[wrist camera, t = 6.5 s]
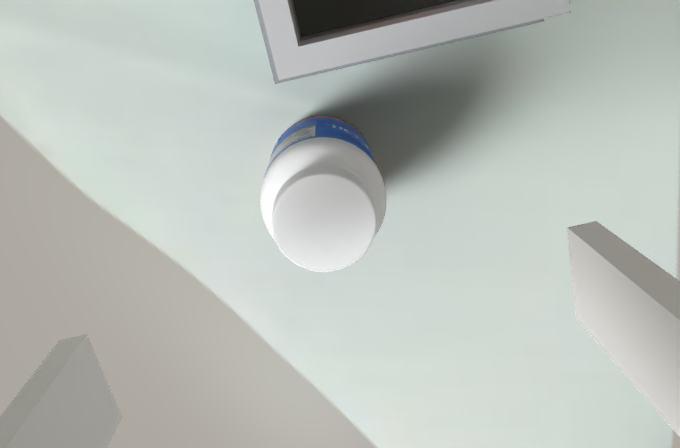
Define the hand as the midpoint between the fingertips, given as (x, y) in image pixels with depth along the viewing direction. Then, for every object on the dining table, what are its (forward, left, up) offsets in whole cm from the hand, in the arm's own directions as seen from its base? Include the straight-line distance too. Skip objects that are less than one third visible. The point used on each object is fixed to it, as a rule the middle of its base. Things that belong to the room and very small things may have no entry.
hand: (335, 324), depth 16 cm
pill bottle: (0, 0, -17) cm, 17 cm away
